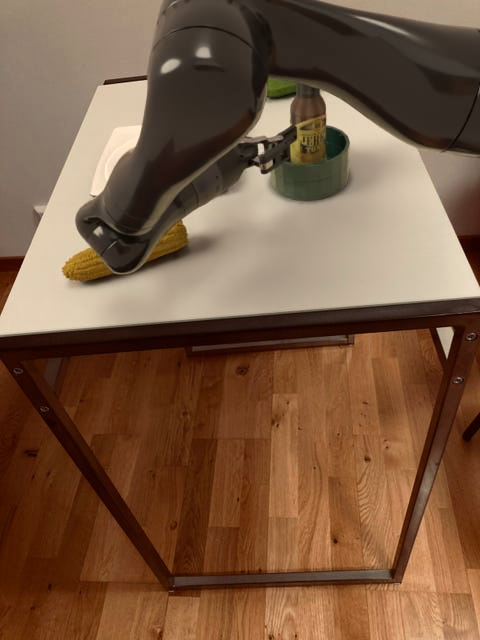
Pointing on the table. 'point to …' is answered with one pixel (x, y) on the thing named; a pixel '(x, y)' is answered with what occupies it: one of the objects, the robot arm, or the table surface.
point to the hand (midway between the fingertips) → (274, 124)
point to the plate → (114, 155)
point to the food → (92, 267)
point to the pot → (315, 171)
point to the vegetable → (280, 88)
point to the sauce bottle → (308, 125)
